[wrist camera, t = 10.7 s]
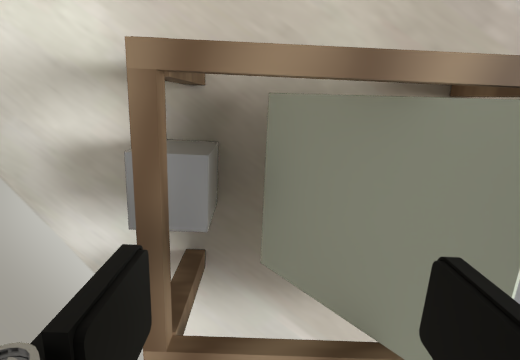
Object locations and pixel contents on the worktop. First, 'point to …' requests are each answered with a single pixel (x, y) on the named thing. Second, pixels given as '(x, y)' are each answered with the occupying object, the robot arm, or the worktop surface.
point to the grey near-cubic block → (184, 185)
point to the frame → (272, 65)
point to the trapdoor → (389, 201)
